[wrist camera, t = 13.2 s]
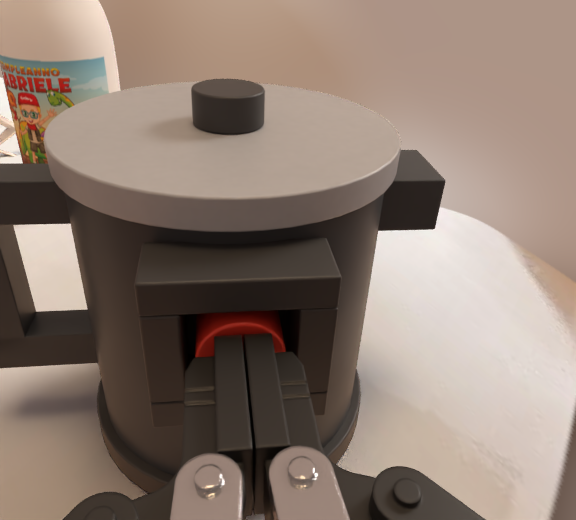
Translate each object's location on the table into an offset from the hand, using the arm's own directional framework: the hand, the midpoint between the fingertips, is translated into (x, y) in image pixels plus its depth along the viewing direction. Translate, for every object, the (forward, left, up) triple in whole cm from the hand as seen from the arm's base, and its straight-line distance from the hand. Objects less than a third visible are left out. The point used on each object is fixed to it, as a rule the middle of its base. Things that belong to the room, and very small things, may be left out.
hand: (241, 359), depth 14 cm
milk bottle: (+14, -29, -9) cm, 34 cm away
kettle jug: (+2, -6, -9) cm, 11 cm away
